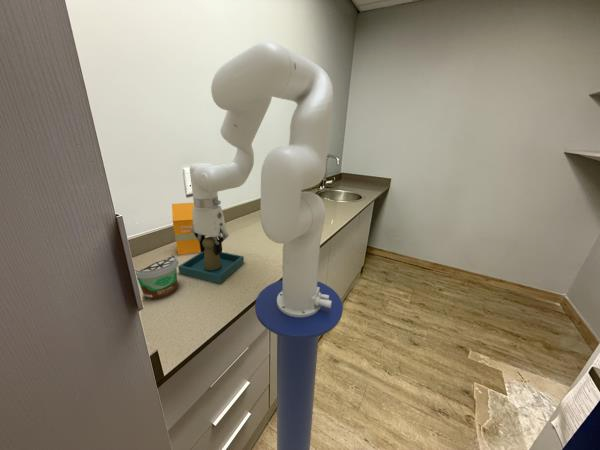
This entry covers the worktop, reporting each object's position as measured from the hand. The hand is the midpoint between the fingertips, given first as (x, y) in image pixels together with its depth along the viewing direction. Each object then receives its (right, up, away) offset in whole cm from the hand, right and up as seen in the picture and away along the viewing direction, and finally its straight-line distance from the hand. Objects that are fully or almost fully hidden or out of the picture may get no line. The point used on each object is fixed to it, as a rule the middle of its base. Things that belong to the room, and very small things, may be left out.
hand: (211, 251), depth 85 cm
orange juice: (-14, -1, +16) cm, 21 cm away
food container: (-10, -11, -11) cm, 19 cm away
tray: (0, -6, +2) cm, 7 cm away
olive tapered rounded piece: (0, -6, +2) cm, 6 cm away
